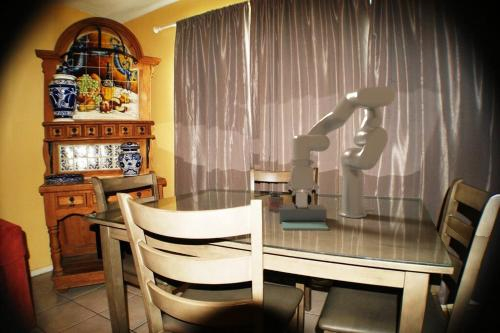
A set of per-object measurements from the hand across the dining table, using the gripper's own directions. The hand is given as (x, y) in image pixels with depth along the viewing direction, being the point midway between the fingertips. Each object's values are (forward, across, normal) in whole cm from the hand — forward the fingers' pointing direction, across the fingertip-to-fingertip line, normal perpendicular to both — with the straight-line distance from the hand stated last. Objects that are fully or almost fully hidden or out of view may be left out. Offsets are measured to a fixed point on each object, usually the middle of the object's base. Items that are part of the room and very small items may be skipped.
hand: (301, 203), depth 126 cm
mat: (+8, 0, +10) cm, 12 cm away
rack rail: (+8, 0, 0) cm, 8 cm away
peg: (+8, 0, 0) cm, 8 cm away
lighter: (+8, +11, -16) cm, 21 cm away
